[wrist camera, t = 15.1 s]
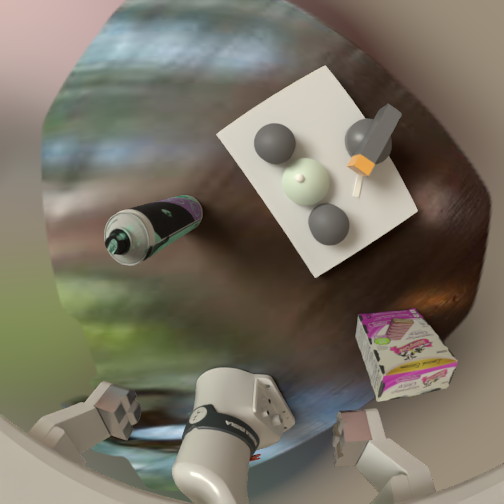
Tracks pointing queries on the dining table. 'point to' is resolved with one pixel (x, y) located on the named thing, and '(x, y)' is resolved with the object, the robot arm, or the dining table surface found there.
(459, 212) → the dining table surface
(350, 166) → the wing knob
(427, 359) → the candy bar box
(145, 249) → the spray can
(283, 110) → the base
